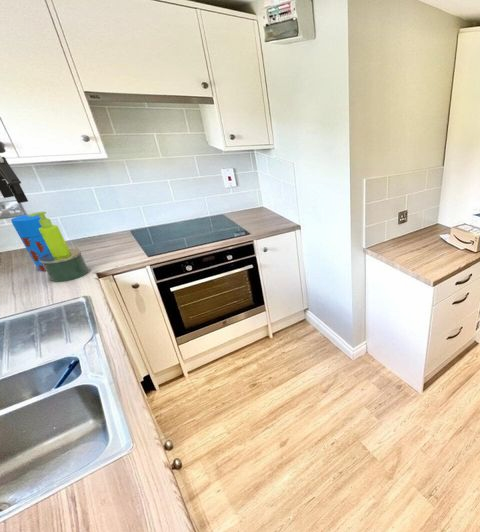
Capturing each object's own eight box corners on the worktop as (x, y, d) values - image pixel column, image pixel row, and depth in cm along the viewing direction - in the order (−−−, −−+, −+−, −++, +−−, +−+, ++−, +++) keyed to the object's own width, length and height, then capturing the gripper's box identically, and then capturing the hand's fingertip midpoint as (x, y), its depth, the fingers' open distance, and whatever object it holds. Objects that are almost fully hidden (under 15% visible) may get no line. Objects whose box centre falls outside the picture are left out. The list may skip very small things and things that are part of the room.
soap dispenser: (46, 256, 144) (23, 214, 135) (65, 250, 150) (44, 209, 140) (54, 259, 142) (32, 215, 133) (73, 253, 148) (53, 211, 139)
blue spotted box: (56, 260, 163) (31, 213, 152) (74, 262, 162) (50, 214, 151) (31, 270, 154) (3, 220, 142) (50, 272, 152) (23, 222, 141)
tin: (58, 284, 142) (46, 264, 138) (44, 277, 148) (33, 257, 143) (95, 272, 153) (86, 252, 148) (81, 265, 159) (72, 246, 154)
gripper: (13, 143, 113) (42, 202, 123) (-13, 138, 123) (16, 193, 133) (-18, 145, 107) (15, 206, 117) (-43, 139, 117) (-11, 197, 127)
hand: (16, 199), depth 125 cm, fingers open, 13 cm apart
